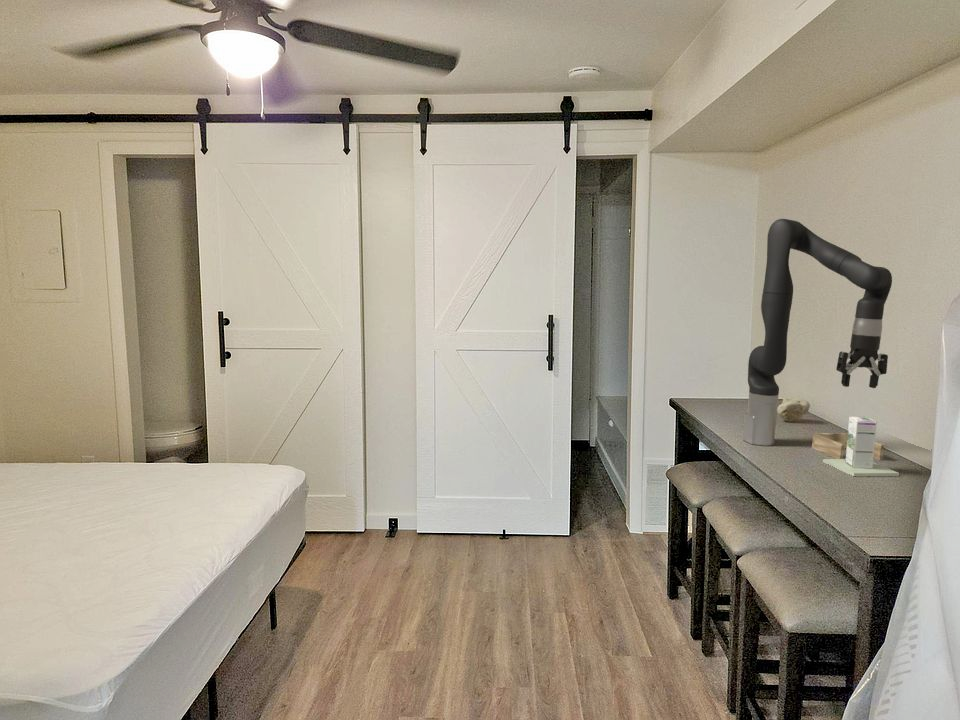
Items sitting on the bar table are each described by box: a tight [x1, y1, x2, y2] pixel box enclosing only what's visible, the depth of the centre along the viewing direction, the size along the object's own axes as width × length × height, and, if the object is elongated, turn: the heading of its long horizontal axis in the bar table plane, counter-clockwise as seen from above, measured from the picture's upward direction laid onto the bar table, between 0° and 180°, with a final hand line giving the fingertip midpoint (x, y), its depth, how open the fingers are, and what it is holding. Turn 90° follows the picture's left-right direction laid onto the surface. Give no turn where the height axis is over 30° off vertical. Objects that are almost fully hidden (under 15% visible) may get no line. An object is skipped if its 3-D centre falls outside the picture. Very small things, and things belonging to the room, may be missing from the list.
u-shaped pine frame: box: [811, 432, 885, 461], centre depth 208 cm, size 14×14×5 cm
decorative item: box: [777, 397, 811, 423], centre depth 252 cm, size 12×9×10 cm
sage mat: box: [822, 458, 900, 478], centre depth 192 cm, size 14×14×1 cm
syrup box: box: [844, 416, 878, 469], centre depth 191 cm, size 6×6×14 cm
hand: (859, 387), depth 193 cm, fingers open, 8 cm apart
